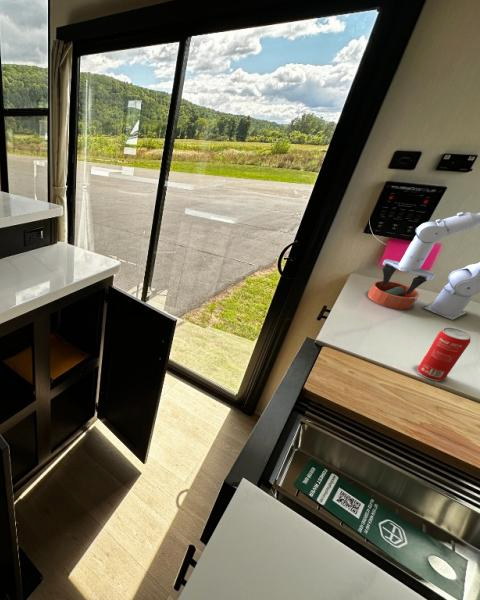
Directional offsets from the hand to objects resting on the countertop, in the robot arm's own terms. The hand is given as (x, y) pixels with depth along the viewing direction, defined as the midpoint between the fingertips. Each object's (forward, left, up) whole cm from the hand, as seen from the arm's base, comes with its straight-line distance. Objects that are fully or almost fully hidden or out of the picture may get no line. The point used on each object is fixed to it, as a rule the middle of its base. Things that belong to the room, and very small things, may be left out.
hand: (396, 288), depth 120 cm
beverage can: (+34, +27, -5) cm, 44 cm away
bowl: (0, 0, -5) cm, 5 cm away
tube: (0, 0, -5) cm, 5 cm away
